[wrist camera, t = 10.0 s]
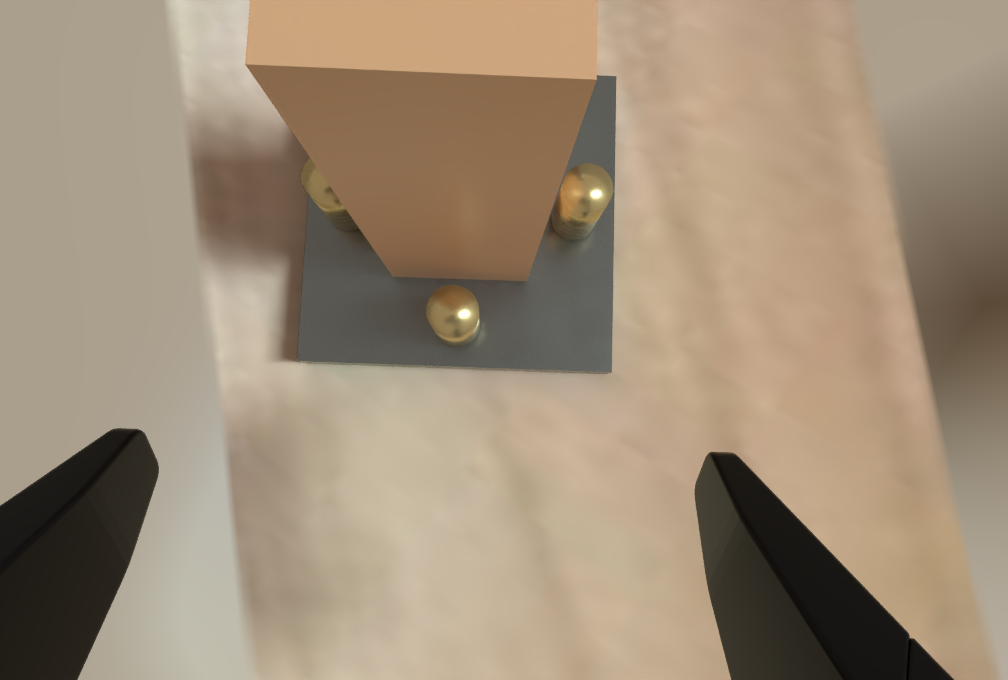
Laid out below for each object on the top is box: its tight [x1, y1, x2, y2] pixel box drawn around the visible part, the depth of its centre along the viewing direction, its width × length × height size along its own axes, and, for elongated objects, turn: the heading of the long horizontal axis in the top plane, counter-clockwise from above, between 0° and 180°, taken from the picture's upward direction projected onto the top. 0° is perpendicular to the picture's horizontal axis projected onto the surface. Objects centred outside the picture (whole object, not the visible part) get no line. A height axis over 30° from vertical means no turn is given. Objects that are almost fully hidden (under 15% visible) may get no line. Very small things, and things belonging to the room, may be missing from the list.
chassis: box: [297, 75, 616, 374], centre depth 20 cm, size 10×10×4 cm
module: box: [245, 0, 598, 281], centre depth 15 cm, size 4×4×13 cm
